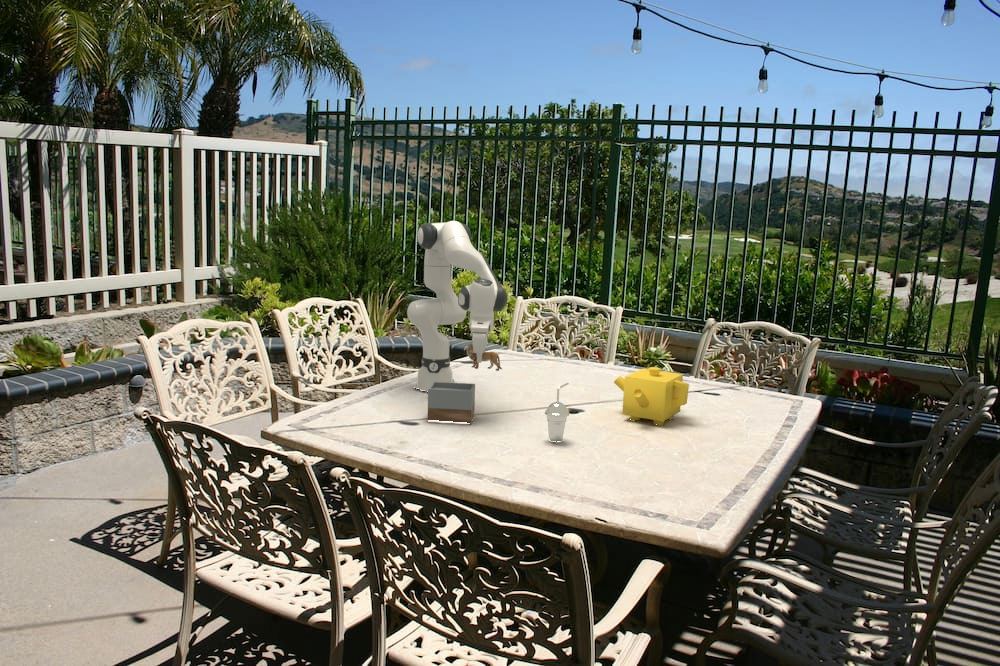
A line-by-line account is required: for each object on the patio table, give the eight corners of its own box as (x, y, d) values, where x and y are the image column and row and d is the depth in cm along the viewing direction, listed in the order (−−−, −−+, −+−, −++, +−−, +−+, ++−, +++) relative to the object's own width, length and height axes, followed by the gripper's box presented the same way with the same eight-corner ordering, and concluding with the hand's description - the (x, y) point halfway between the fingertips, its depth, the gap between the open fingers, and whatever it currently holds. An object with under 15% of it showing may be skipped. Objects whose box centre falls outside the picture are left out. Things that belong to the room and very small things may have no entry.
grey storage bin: (432, 399, 306) (432, 381, 305) (474, 401, 305) (475, 383, 304) (427, 407, 294) (428, 389, 293) (471, 410, 293) (472, 391, 292)
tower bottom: (432, 414, 307) (432, 399, 306) (474, 417, 306) (474, 401, 305) (427, 423, 295) (427, 407, 294) (470, 425, 294) (471, 409, 293)
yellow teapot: (629, 403, 335) (632, 355, 331) (698, 415, 320) (702, 365, 317) (594, 421, 305) (597, 369, 302) (668, 435, 290) (673, 380, 287)
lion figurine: (466, 368, 293) (469, 344, 293) (462, 366, 298) (465, 342, 298) (504, 371, 299) (507, 347, 298) (499, 369, 304) (502, 345, 303)
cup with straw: (539, 438, 281) (542, 382, 278) (562, 436, 284) (565, 381, 281) (549, 445, 273) (552, 388, 270) (573, 443, 276) (576, 386, 273)
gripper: (475, 318, 306) (474, 354, 308) (470, 328, 286) (468, 366, 288) (492, 319, 305) (490, 355, 308) (488, 329, 285) (486, 367, 288)
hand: (480, 360), depth 298 cm, fingers closed on lion figurine, 4 cm apart
